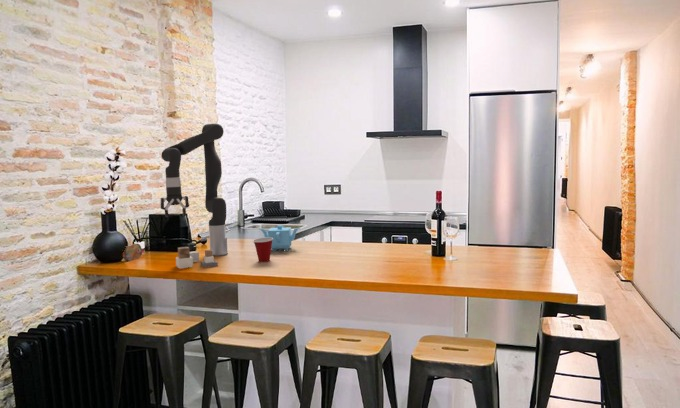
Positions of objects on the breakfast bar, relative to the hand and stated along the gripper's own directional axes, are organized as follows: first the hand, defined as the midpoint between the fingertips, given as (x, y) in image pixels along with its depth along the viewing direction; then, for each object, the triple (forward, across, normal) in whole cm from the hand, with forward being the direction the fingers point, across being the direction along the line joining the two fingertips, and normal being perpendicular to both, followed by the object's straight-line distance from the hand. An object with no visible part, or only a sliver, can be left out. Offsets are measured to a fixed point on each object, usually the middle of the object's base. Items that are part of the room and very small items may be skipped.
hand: (175, 216), depth 272 cm
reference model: (+25, -11, +19) cm, 33 cm away
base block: (+25, 0, +13) cm, 28 cm away
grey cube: (+25, -8, 0) cm, 27 cm away
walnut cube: (+20, 0, +13) cm, 24 cm away
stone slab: (+25, +20, -27) cm, 42 cm away
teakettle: (+26, -61, -3) cm, 66 cm away
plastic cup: (+26, -39, +24) cm, 53 cm away
